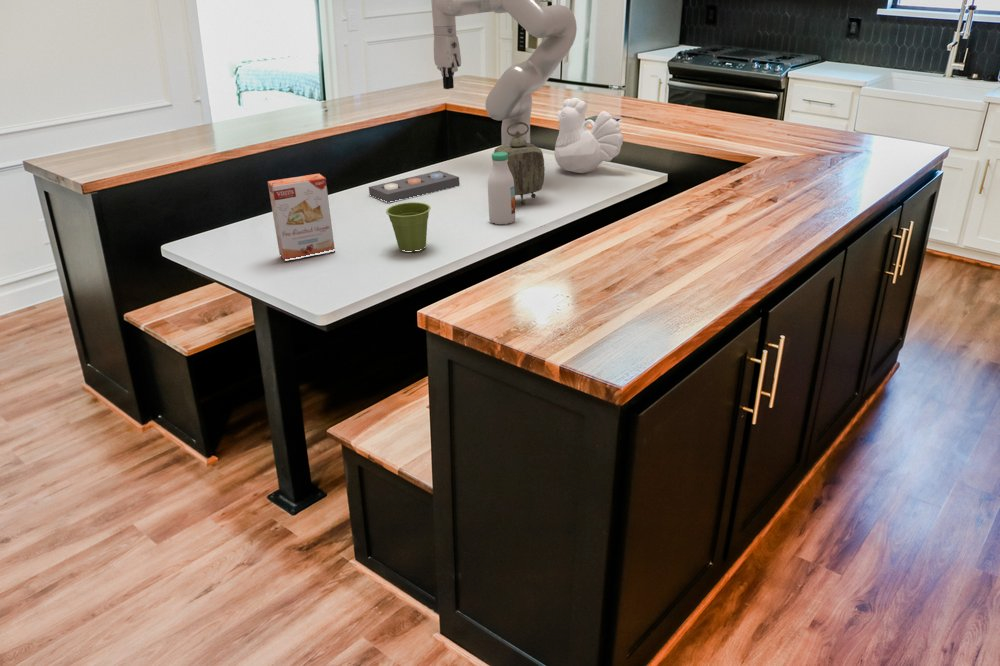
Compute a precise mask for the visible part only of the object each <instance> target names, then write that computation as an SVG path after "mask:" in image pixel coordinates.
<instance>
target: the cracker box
mask: <svg viewBox="0 0 1000 666" xmlns="http://www.w3.org/2000/svg"><path fill="white" fill-rule="evenodd" d="M267 186H268V192H269V199H270V204H271V211H272V216H273V222H274V230H275V235H276V239H277V240H276V241H277V246H278V248H277V249H278V253H279V256H280V255H281V256H282V258H283V259H284V260H285V259H290V258H296V257H301V256H306V255H310V254H315V253H320V252H324V251H329V250H333V249H336V248H335V241H334V233H333V225H332V218H331V217H332V215H331V209H330V202H329V194H328V187H327V179H326V177H325V176H324V175H322V174H320V173H314V174H307V175H301V176H295V177H288V178H281V179H275V180H269V181H267ZM282 258H281V259H282ZM283 259H282V260H283ZM284 260H283V261H284Z"/></svg>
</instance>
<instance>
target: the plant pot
mask: <svg viewBox="0 0 1000 666" xmlns="http://www.w3.org/2000/svg"><path fill="white" fill-rule="evenodd" d="M431 209H432V207H431V205H429V204H428V203H425V202H418V201H417V202H416V201H415V202H414V201H413V202H411V201H410V202H403V203H398V204H394V205H391V206H389V207H388V208H387V209H386V210H385V213H386V214H387V216H388V218H389V220H390V221H389V222H391V225H392V228H393V231H394V235H395V238H396V243H397V247H398V249H399V250H400V249H401V250H405V251H414V252H416V251H415V250H420V249H423V248H424V247H425V246H426V247H427V235H428V234H427V231H428V219H429V213H430V211H431Z"/></svg>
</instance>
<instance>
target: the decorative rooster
mask: <svg viewBox="0 0 1000 666" xmlns="http://www.w3.org/2000/svg"><path fill="white" fill-rule="evenodd" d="M562 104H563V105H562V109H560V110H558V111H557V116H558V117H557V118H558V130H559V131H558V136H557V137H556V142H555V144H554V145H555V147H554V159H555V161H556V163H557V165H558V166H559V167H560V168H561V169H562V170H564V171H567V172H572V173H577V174H587V173H592V172H593V171H594V170H595V169H597V167H599V166H600V165H601V164H602V163H603V162H611V161H612V160H613V159H614V158H616V157H618V155H619V154H620V152H621V149H622V146H623V144H624V143H623V141H624V135H623V133H621V130H622V129H621V127H620V123H619V122H618V121H617V120H616V119H614V118H613V115H612V113H609V112H608V111H605V110H602V111H601V112H600V113H599V114H598V115H597V117H596V119H595V121H594V120H593V119H590V118H589V119H586V115H585V113H586V111H587V108H588V105H587V102H586V101H584V100H581V99H580V98H578V97H571V98H565V99H564V100H563V103H562ZM589 124H590V125H591V129H589V128H588V125H589Z"/></svg>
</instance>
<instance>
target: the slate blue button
mask: <svg viewBox="0 0 1000 666" xmlns="http://www.w3.org/2000/svg"><path fill="white" fill-rule="evenodd" d="M430 178H432V179H439V178H443V173H432V174H430Z"/></svg>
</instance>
